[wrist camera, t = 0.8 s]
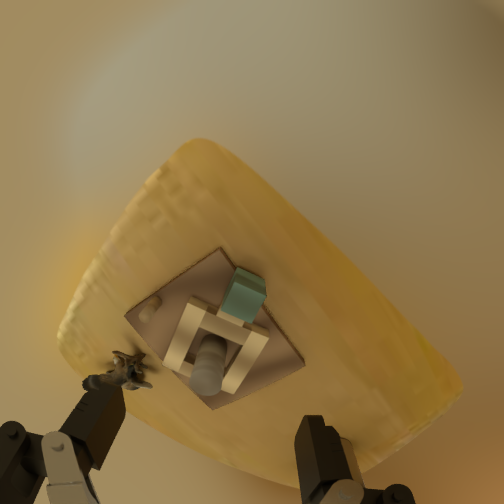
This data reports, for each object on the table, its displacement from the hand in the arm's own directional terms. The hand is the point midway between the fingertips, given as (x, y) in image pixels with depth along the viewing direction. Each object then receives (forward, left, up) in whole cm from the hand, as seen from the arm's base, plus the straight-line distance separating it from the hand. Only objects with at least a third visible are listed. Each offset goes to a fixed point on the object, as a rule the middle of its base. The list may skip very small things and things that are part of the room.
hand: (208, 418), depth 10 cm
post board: (-5, +6, -20) cm, 21 cm away
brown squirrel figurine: (-2, +20, -20) cm, 28 cm away
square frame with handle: (-4, +4, -18) cm, 19 cm away
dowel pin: (+3, +8, -18) cm, 20 cm away
